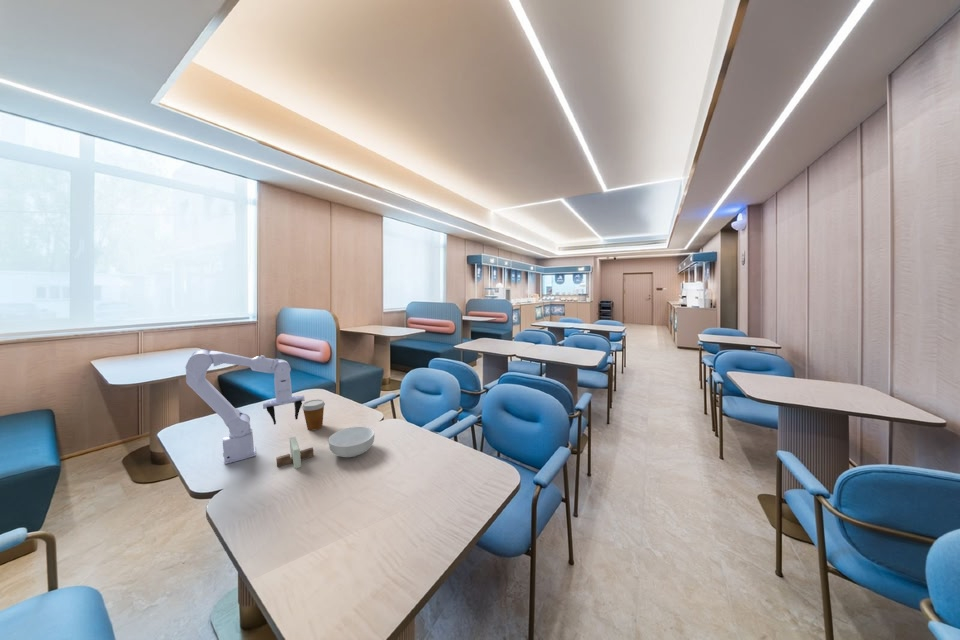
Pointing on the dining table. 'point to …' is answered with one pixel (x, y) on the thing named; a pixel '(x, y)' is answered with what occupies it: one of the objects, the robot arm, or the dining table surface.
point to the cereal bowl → (351, 441)
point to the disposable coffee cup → (313, 413)
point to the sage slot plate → (295, 452)
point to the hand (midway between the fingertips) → (285, 421)
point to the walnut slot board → (287, 459)
